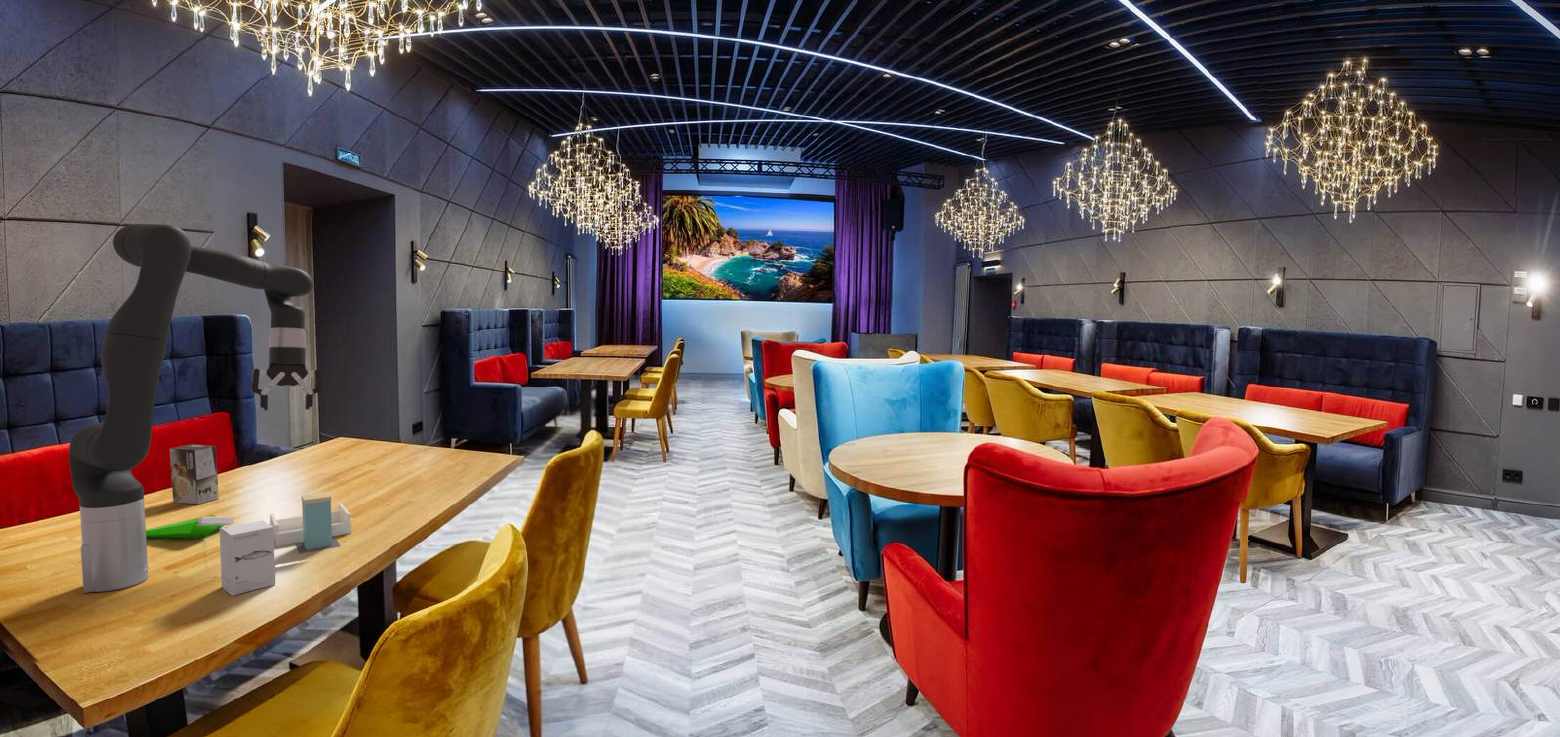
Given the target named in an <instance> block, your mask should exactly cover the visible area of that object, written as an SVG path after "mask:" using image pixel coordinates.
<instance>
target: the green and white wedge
mask: <svg viewBox="0 0 1560 737" xmlns="http://www.w3.org/2000/svg"><path fill="white" fill-rule="evenodd" d="M233 524H234V517H233V516H232V517H231V516H217V515H214V514H211V515H207V516H206V515H205V516H201V517H197V518H193V519H187V520H183V521H180V522H174V523H170V524H166V525H161V526H156V527H152V528H148V529H147V528H146V539H148V538H149V539H160V538H161V539H167V538H169V539H179V538H181V539H182V538H184V537H204V538H206V536H207V535H210V534H212V533H213V532H215V531H217V530H220V528H223V527H225V526H232V525H233ZM184 539H185V538H184Z"/></svg>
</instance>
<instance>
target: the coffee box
mask: <svg viewBox="0 0 1560 737" xmlns="http://www.w3.org/2000/svg"><path fill="white" fill-rule="evenodd" d="M169 456H170V457H169V458H170V474H171V476H170V477H171V488H172V489H171V490H172V491H171V492H172V503H176V504H188V505H201V504H205V503H208V502H209V503H210V502H213V501H217V500H219V499H220V498H219V482H218V476H219V475H218V466H217V465H218V461H217V460H218V459H217V446H216V445H205V444H186V445H181V446H177V447H171V448H169Z"/></svg>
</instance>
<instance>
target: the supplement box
mask: <svg viewBox="0 0 1560 737" xmlns="http://www.w3.org/2000/svg"><path fill="white" fill-rule="evenodd" d="M219 548H220V554H219V555H220V572H221V574H220V575H221V577H220V578H221V587H222V588H223V589H224V590H225V591H226V592H227V593H228V594H229V595H230V596H231V597H233V596H236V595H239V594H240V595H241V594H244V593H248V592H251V591H255V590H259V589H263V588H268V587H272V586H275V585H276V568H275V567H276V564H275V542H274V527H273V526H271V525H270V523H269V522H266V521H265V520H263V519H261V520H257V521H256V520H255V521H251V522H245V523H240V524H239V523H238V524H235V525H233V524H232V525H227V526H223V527H222V528H220V529H219Z"/></svg>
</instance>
